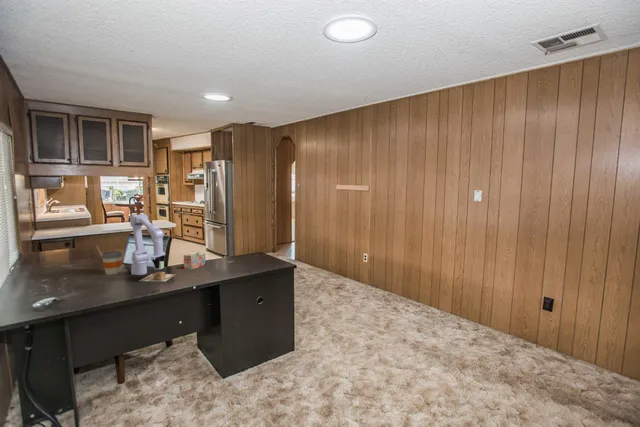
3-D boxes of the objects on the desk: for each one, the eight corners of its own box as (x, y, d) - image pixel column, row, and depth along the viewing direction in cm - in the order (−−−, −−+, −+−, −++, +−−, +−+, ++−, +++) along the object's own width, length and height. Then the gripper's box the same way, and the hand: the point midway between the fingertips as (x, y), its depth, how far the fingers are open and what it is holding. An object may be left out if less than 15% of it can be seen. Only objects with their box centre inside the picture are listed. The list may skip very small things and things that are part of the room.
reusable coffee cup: (124, 269, 244) (123, 250, 243) (120, 274, 232) (119, 254, 231) (105, 271, 240) (104, 251, 239) (100, 276, 229) (98, 255, 227)
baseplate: (138, 282, 216) (138, 280, 216) (151, 275, 232) (151, 273, 232) (165, 282, 216) (165, 281, 216) (176, 275, 232) (176, 274, 232)
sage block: (154, 269, 217) (154, 262, 216) (157, 267, 221) (157, 261, 221) (160, 269, 217) (160, 262, 216) (164, 267, 221) (163, 261, 221)
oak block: (153, 280, 217) (153, 273, 217) (157, 277, 222) (157, 271, 222) (161, 280, 217) (161, 274, 217) (165, 278, 222) (164, 271, 222)
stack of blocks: (198, 263, 266) (198, 248, 265) (205, 263, 265) (205, 249, 264) (183, 270, 245) (183, 254, 244) (191, 271, 244) (191, 255, 243)
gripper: (158, 250, 210) (159, 270, 212) (169, 245, 225) (169, 264, 226) (147, 250, 210) (148, 270, 212) (159, 245, 225) (160, 264, 226)
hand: (159, 267), depth 219 cm, fingers closed on sage block, 4 cm apart
